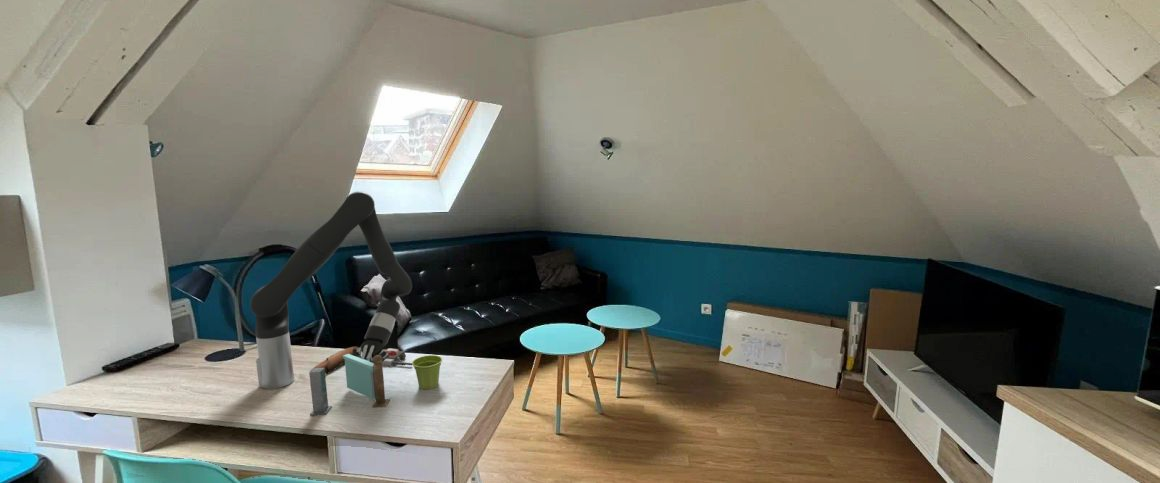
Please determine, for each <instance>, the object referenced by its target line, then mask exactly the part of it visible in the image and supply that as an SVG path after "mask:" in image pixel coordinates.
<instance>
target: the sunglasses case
mask: <svg viewBox="0 0 1160 483" xmlns="http://www.w3.org/2000/svg"><path fill="white" fill-rule="evenodd" d="M358 348H359V346H351V347H347V348H345V349H342V350H339V351H337V352H336V353H333V354H332V355H330V356H328V357H326V358H325V359H324V360H323V361H321V362H320V363H318V364H316V365H315V366H314V367H313V368H312V369H314V368H325V373H326V374H327V375H328V374H330V373H331V372H332V371H335V369H337V368H339V367H340V366H341V365H342V364H345V359H343V355H346V354H350V355H353V349H358ZM353 356H354V355H353ZM326 374H325V375H326Z"/></svg>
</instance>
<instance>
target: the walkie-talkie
mask: <svg viewBox="0 0 1160 483" xmlns="http://www.w3.org/2000/svg"><path fill="white" fill-rule="evenodd" d="M385 351H386V352H387V353H388V354H389V357H387V358H386V359H385V360H384V361H383V362H382V366H386V367H392V366H396V365H398V366H413V365H412V362H403V361H402V360H406V357H407V356H406V353H405V351H401V350H399V349H398V348H387V349H385Z"/></svg>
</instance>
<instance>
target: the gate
mask: <svg viewBox="0 0 1160 483" xmlns="http://www.w3.org/2000/svg"><path fill="white" fill-rule="evenodd" d="M343 359H345V363H344V365H345V366H344V368H345V377H346V378H345V379H346V380H345V381H346V388H347V389H349V390H352V391H354V392H356V393H358V394H361V396H365V397H367V398H368V399H369V398H370V399H371V400H373V401H376V400H377V399H376V387H375V375H374V363H372V362H369V361H366V360H364V359H361V358H358V357H356V356H353V355H350V354H346V355H343Z"/></svg>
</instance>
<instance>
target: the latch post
mask: <svg viewBox="0 0 1160 483" xmlns="http://www.w3.org/2000/svg"><path fill="white" fill-rule="evenodd" d="M313 368H314V367H313ZM313 368H312V369H311V370H310V371H309V372H308V374H309V383H310V393H311V402H312V403H311V404H312V411H311V412H310V414H309V416H311V417H313V416H317V417H318V416H326V415H328V414H329V412H330V410H331V409H332V408H333V406H332V405H329V399H328V388H327V382H326V381H327V379H326V374H325V368H314V369H313Z"/></svg>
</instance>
